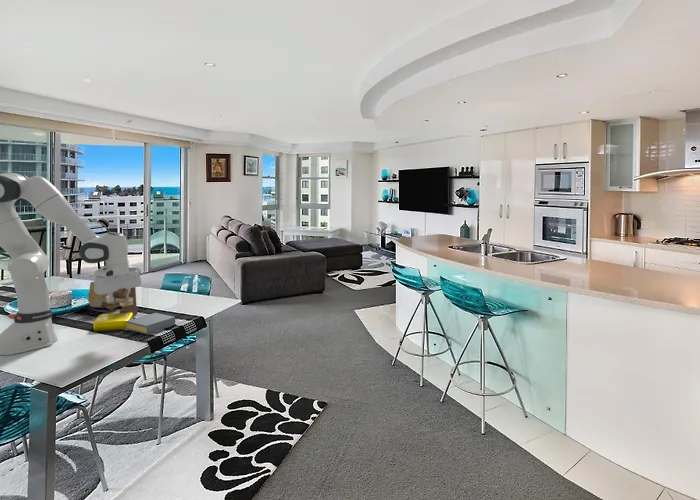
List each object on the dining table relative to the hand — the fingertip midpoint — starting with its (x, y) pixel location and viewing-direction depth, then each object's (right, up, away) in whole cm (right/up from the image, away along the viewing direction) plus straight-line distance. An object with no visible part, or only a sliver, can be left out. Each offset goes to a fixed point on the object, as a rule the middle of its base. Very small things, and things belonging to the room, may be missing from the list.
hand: (119, 300), depth 195 cm
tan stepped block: (0, -2, 0) cm, 2 cm away
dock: (+7, -15, +17) cm, 23 cm away
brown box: (0, +1, 0) cm, 1 cm away
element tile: (-13, -15, +19) cm, 27 cm away
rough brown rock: (-30, -10, +50) cm, 59 cm away
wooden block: (-12, -12, +33) cm, 37 cm away
